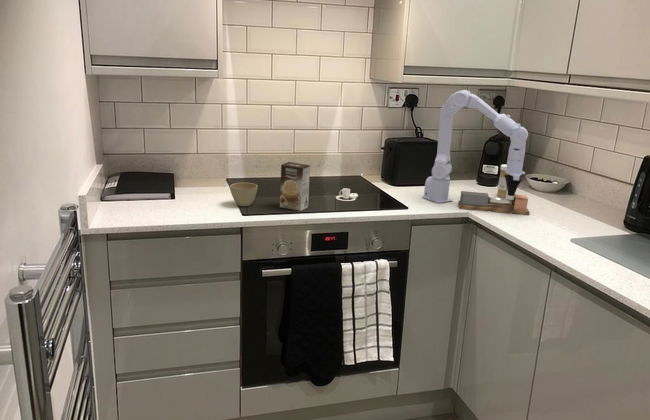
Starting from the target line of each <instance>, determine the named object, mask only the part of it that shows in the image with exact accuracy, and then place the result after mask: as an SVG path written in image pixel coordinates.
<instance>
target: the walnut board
mask: <svg viewBox="0 0 650 420" xmlns="http://www.w3.org/2000/svg"><path fill="white" fill-rule="evenodd" d="M457 203H458V208H459V209H460V210H466V211H467V210H468V211H477V210H478V212H479V211H480V212H488V211H491V212H490V213H499V212H500V213H501V214H510V213H512V214H511V215H522V216H523V215H524V216H530V211H529V209H528V208H527V209H526V211H521V210H514V209H513V207H512V206H506V205H495V204H488V205H487V207H480V206H469V205H460V200H458V202H457Z"/></svg>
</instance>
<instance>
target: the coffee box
mask: <svg viewBox="0 0 650 420" xmlns="http://www.w3.org/2000/svg"><path fill="white" fill-rule="evenodd" d="M310 169H311V165H310V164H306V163H301V162H300V163H299V162H294V161H293V162H292V161H287V162H285V163H282V164H281V165H280V187H279V188H280V190H279V191H280V192H279V208H284V209H289V210H293V211H299V212H300V211H303V210H305V209H307V208H309V196H310V195H309V193H310V173H311V171H310Z"/></svg>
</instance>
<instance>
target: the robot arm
mask: <svg viewBox="0 0 650 420" xmlns="http://www.w3.org/2000/svg"><path fill="white" fill-rule="evenodd" d="M465 107H467V108H468V109H476V110H477V111H479V112H480V113H482V114H483V115H485V116H486V117H487V118H488V119H490V120H491V121H493V126H494V127H495V129H497V130H499V131H500V133H503V134H504V135H505V136H506V137H509V138H510V145H509V147H508V155H507V160H506V165H507V167H506V170H505V173H507V174H509V175H504V176H505V179H506V187H508V196H514V194H516V192H517V190H518V187H519V185H520V183H521V182H522V181H523V179H522V178H521V175H526V172H525V171H523V167H524V162H525V161H524V160H525V155H526V146H527V140H528V137H529V132H528V130H527V129H526V127H525V126H521V123H517V122H516V121H515V120H513V119H512V118H511V115H510V114H506V113H498V112H497V111H496V110H495V109H494V108H492V107H491V106H490V105H489V104H488V103H486V102H485V101H484V100H483V99H482V98H480V97H479V96H478V95H476V94H474V93H472V92H471V91H470V90H468V89H462V90H458V91H456V92H454V93H452V94H451V95H450V96H449V97H448V99H447V100H446V102H445V103H443V105H442V107H441V108H440V115H439V124H438V125H439V126H438V136H437V139H438V140H437V151H436V157H435V160H434V165H433V167H432V168H431V176H428V177H427V178H426V180H425V182H424V183H425V184H424V189H423V190H424V192H423V196H422V198H423V199H424V200H429V201H432V202H434V203H437V204H441V203H443V204H444V203H448V202H449V203H450V202H453V199H451V198H449V192H450V184H451V177H450V174H451V173H452V171H453V165H452V163H451V144H452V133H453V121H454V115H455V114H456V113H457V112H459V110H460V109H462V108H465Z"/></svg>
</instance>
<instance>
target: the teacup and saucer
mask: <svg viewBox="0 0 650 420" xmlns="http://www.w3.org/2000/svg"><path fill="white" fill-rule="evenodd" d="M341 192H342V194H341ZM358 197H359V195H358V193H356V192H355V193H351V189H350V188H346V187H345V188H342V189H341V190H340V191H339V195H337V196H335V198H336V200H339V201H341V202H342V201H344V202H350V201H351V202H352V201H355V200H356V199H357V198H358ZM341 198H342V199H341ZM349 199H350V200H349Z"/></svg>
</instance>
